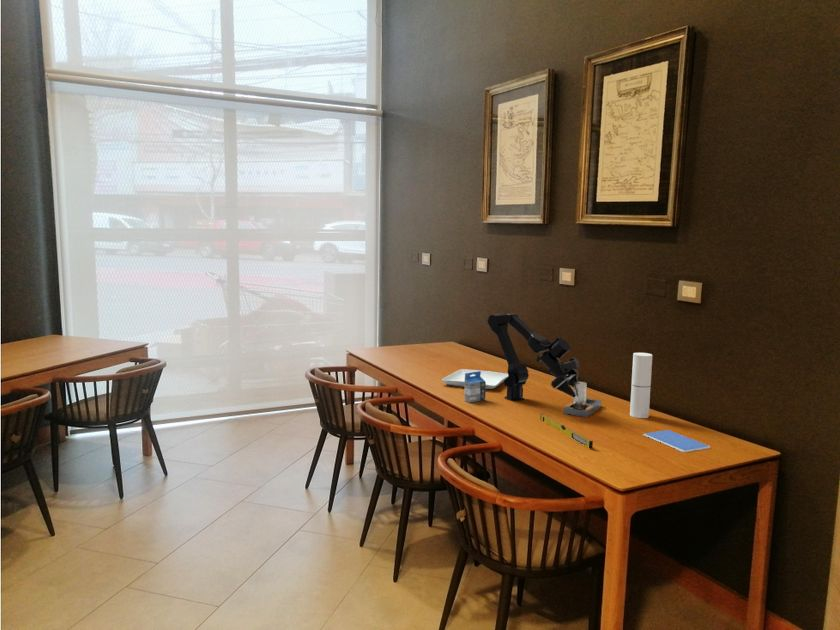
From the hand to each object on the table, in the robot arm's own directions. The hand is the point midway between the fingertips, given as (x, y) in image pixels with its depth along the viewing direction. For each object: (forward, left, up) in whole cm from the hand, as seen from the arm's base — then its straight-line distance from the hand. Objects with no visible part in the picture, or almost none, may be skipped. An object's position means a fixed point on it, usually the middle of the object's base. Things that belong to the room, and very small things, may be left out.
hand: (578, 394), depth 251 cm
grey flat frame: (+4, +2, -8) cm, 9 cm away
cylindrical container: (+18, -15, -8) cm, 25 cm away
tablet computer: (+4, -43, -8) cm, 44 cm away
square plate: (-7, +61, -8) cm, 62 cm away
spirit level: (-24, -18, -8) cm, 31 cm away
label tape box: (-27, +35, -8) cm, 44 cm away
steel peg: (0, -1, -7) cm, 7 cm away
